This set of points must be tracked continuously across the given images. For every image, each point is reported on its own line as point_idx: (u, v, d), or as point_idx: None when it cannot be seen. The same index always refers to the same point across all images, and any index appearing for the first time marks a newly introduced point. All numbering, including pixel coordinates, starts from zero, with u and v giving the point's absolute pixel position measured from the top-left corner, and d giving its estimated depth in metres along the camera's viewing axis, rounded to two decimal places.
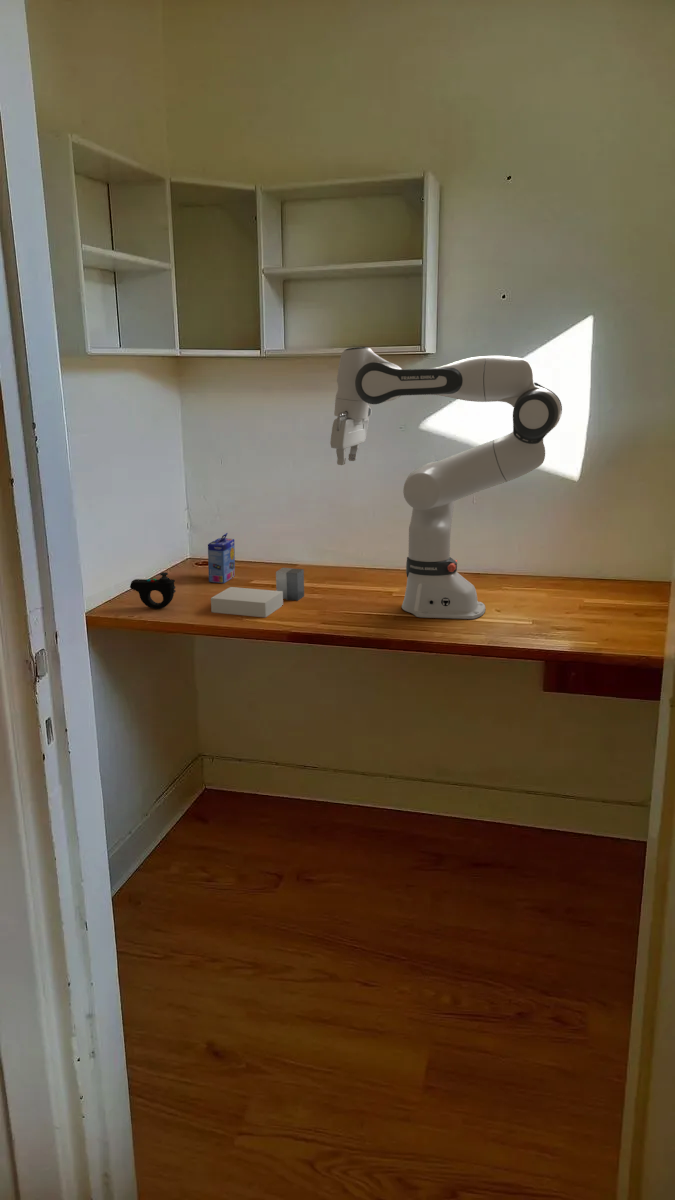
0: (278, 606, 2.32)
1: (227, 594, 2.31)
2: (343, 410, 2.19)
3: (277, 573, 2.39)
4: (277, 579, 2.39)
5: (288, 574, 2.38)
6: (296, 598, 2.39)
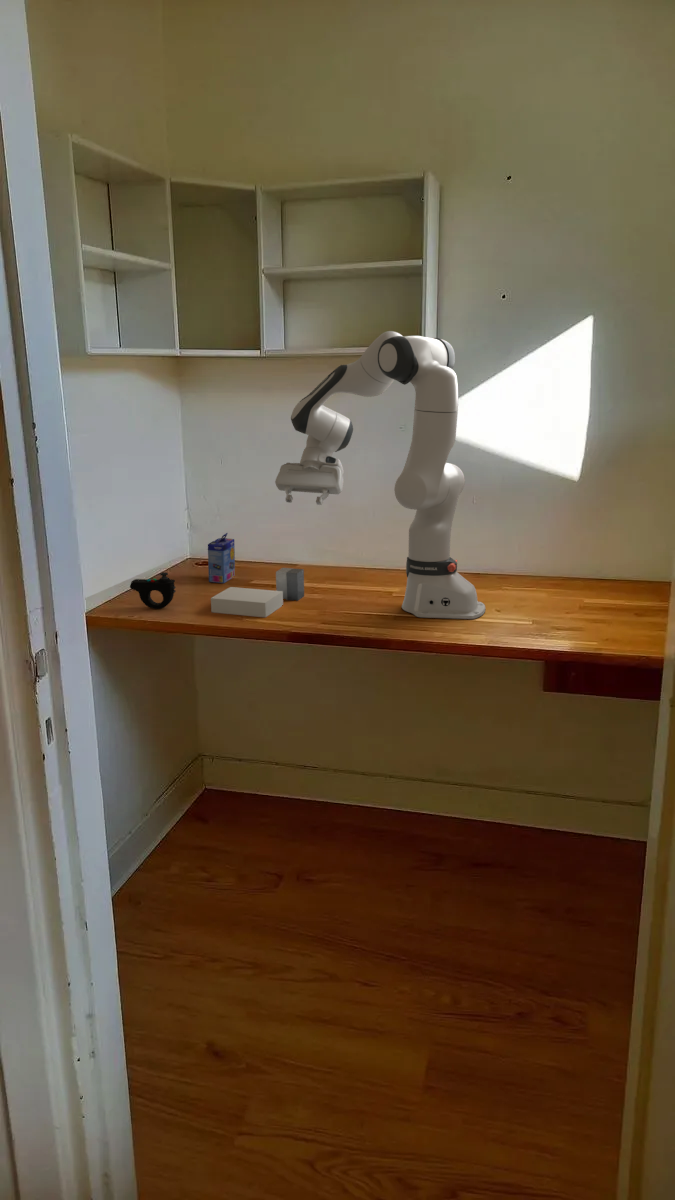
0: (278, 606, 2.32)
1: (227, 594, 2.31)
2: None
3: (277, 573, 2.39)
4: (277, 579, 2.39)
5: (288, 574, 2.38)
6: (296, 598, 2.39)
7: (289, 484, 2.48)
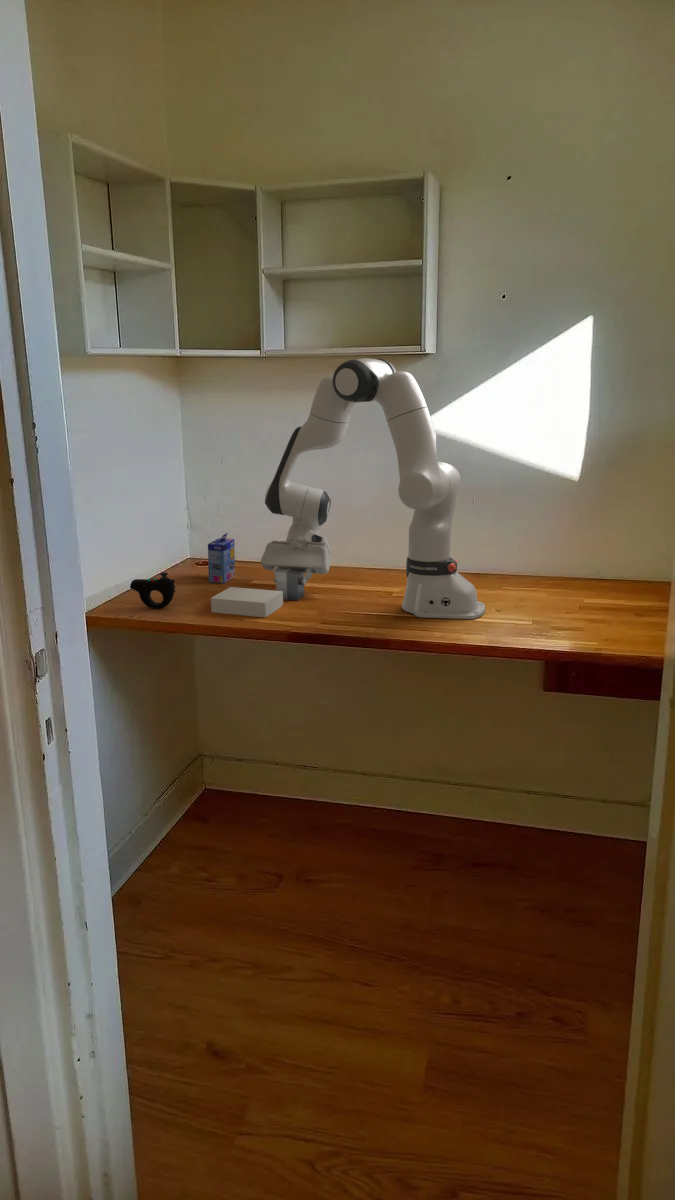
0: (278, 606, 2.32)
1: (227, 594, 2.31)
2: None
3: (277, 573, 2.39)
4: (277, 579, 2.39)
5: (288, 574, 2.38)
6: (296, 598, 2.39)
7: (275, 564, 2.43)
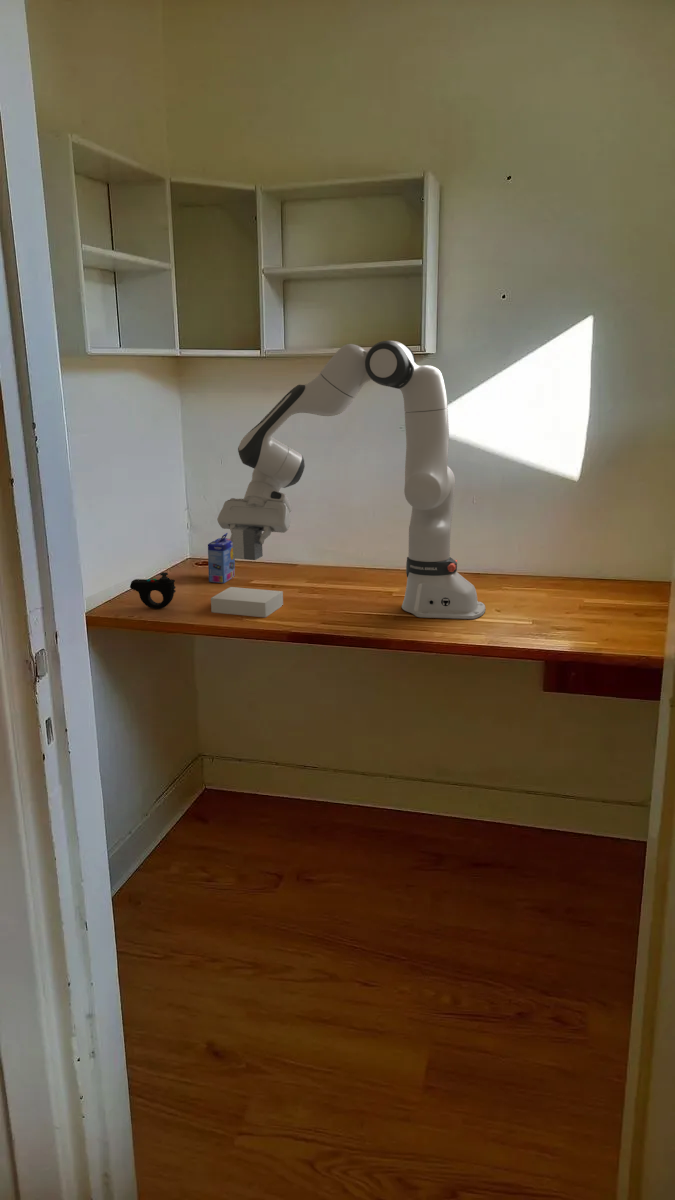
0: (278, 606, 2.32)
1: (227, 594, 2.31)
2: None
3: (233, 531, 2.25)
4: (233, 537, 2.26)
5: (244, 532, 2.24)
6: (253, 557, 2.25)
7: (232, 522, 2.29)
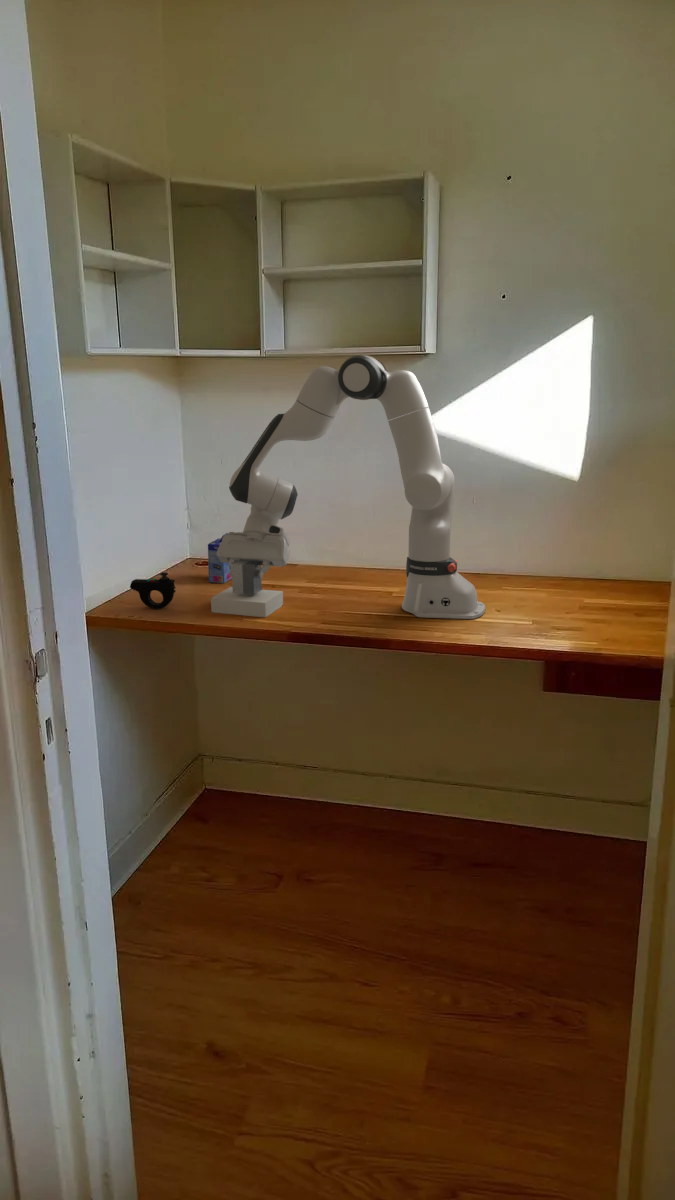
0: (278, 606, 2.32)
1: (227, 594, 2.31)
2: None
3: (232, 565, 2.27)
4: (232, 572, 2.27)
5: (244, 566, 2.26)
6: (252, 592, 2.27)
7: (231, 556, 2.31)
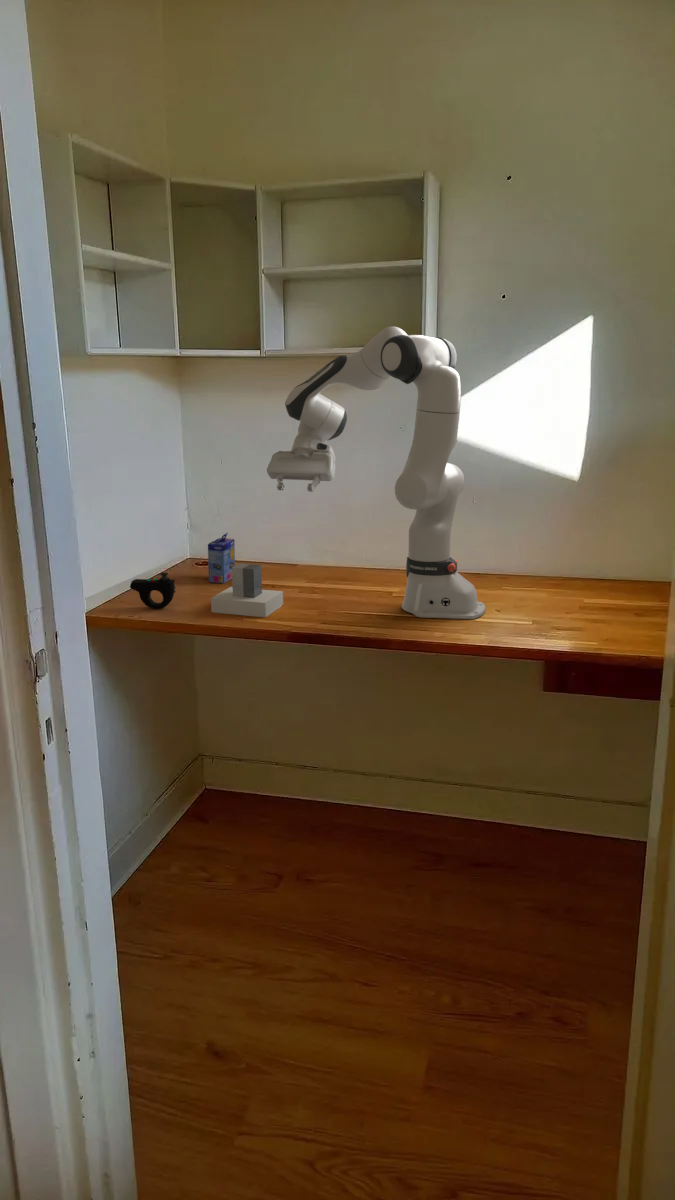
0: (278, 606, 2.32)
1: (227, 594, 2.31)
2: None
3: (233, 569, 2.27)
4: (233, 575, 2.28)
5: (244, 570, 2.26)
6: (253, 595, 2.27)
7: (280, 472, 2.47)
